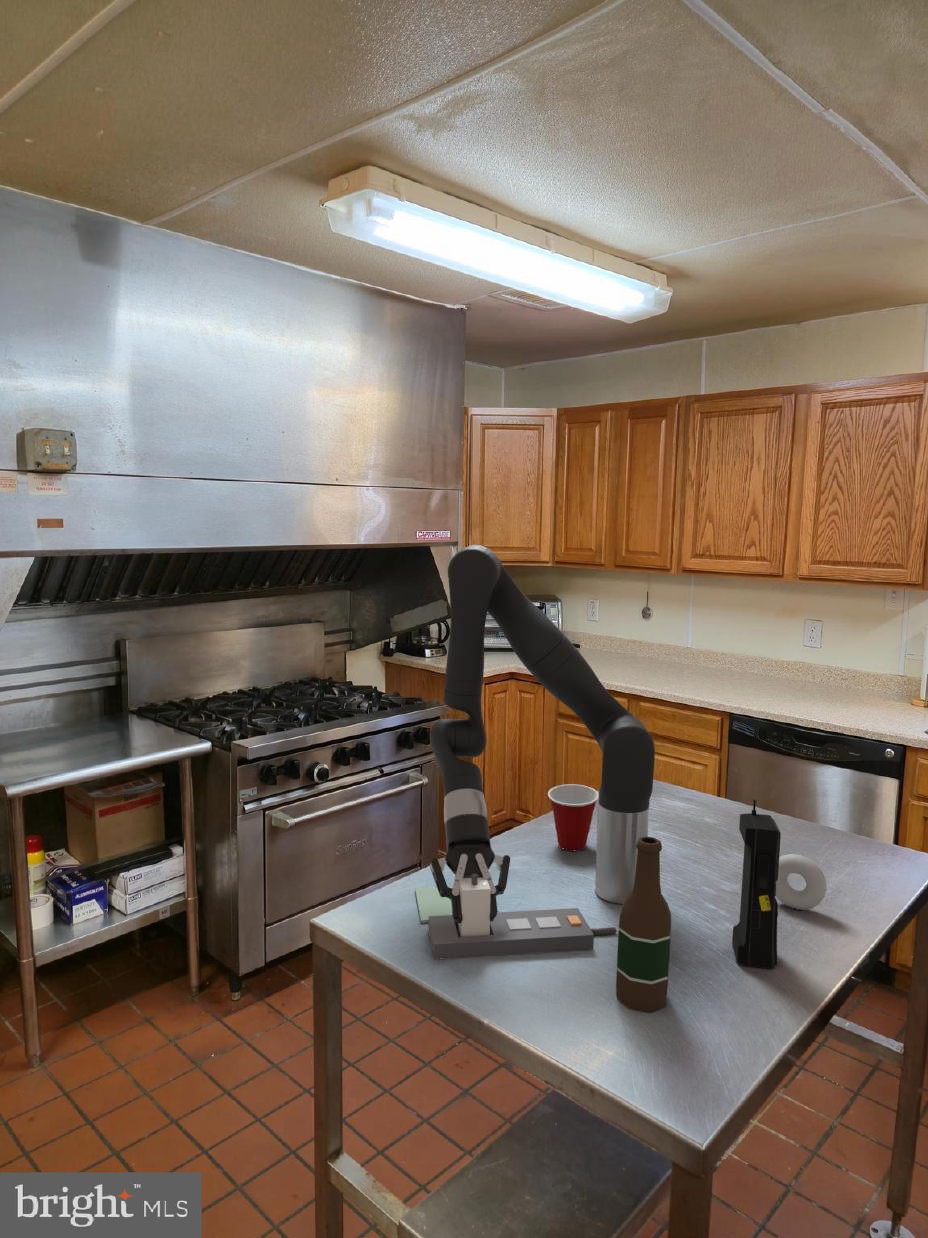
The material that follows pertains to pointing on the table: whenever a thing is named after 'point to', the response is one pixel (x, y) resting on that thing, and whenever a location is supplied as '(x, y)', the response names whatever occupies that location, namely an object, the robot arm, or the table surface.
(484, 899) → the block
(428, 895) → the mat
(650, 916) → the beer bottle
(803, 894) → the donut
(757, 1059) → the table surface
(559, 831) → the plastic cup
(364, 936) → the table surface
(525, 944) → the power strip
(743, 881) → the portable radio
